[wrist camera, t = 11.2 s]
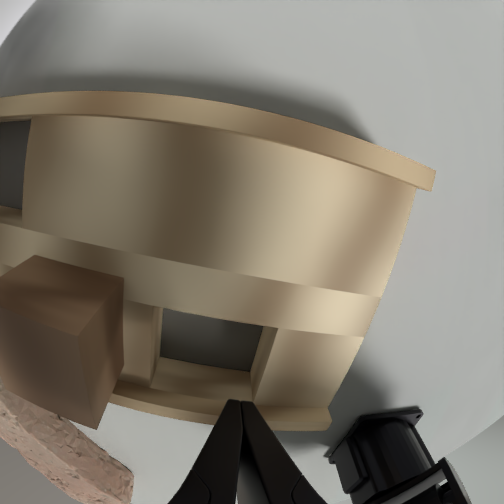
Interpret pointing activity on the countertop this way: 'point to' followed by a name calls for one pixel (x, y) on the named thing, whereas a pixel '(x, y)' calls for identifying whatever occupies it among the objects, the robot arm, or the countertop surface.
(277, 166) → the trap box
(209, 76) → the countertop surface
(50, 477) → the brick
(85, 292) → the walnut block
